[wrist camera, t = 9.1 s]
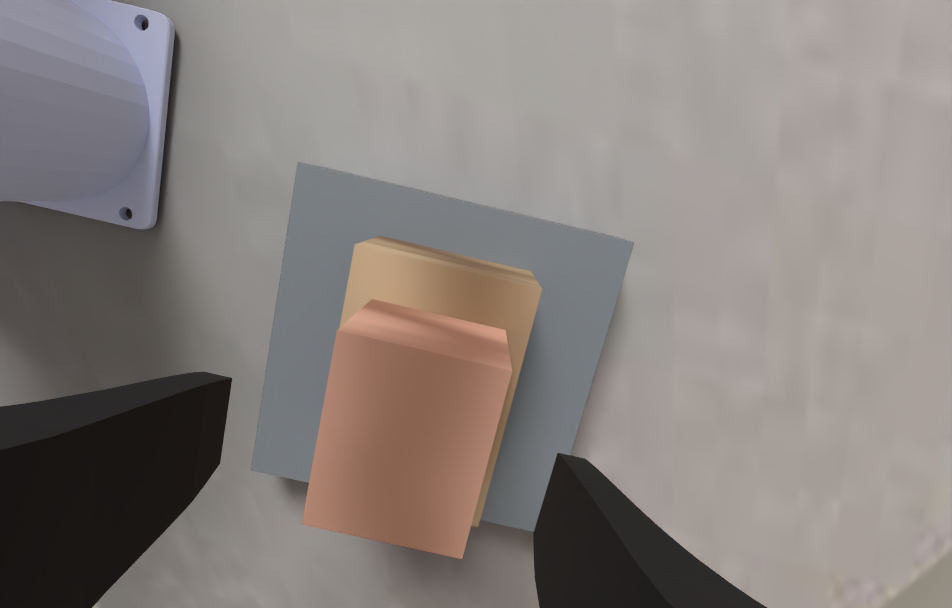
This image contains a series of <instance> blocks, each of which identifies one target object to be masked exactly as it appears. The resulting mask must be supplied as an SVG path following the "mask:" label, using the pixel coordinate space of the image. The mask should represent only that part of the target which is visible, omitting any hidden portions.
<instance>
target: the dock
mask: <svg viewBox="0 0 952 608" xmlns="http://www.w3.org/2000/svg"><path fill="white" fill-rule="evenodd" d="M378 236H384V237H388V238H392V239H396V240H401V241H405V242H409V243H413V244H418V245H422V246H426V247H430V248H434V249H439V250H443V251H447V252H451V253H455V254H460V255H464V256H468V257H472V258H477V259H481V260H485V261H489V262H493V263H498V264H502V265H506V266H510V267H514V268H519V269H523V270H527V271H531V272H532V274H533V275H534V277H535V278H536V280H537V282H538V283H539V285H540V286H541V288H542V292H541V295H540V299H539V303H538V307H537V310H536V314H535V318H534V321H533V325H532V329H531V333H530V336H529V340H528V344H527V348H526V351H525V355H524V359H523V362H522V366H521V370H520V374H519V377H518V381H517V385H516V388H515V392H514V396H513V400H512V403H511V407H510V411H509V415H508V418H507V422H506V426H505V429H504V433H503V437H502V441H501V444H500V448H499V452H498V455H497V459H496V463H495V467H494V470H493V474H492V478H491V482H490V485H489V489H488V493H487V496H486V500H485V504H484V508H483V511H482V515H481V519H480V520H481V521H486V522H490V523H495V524H499V525H504V526H509V527H513V528H518V529H522V530H527V531H531V532H534V529H535V526H536V523H537V519H538V516H539V513H540V510H541V506H542V503H543V500H544V496H545V493H546V490H547V486H548V483H549V480H550V476H551V473H552V470H553V466H554V463H555V460H556V456H557V453H562V454H566V455H570V454H571V451H572V447H573V444H574V441H575V437H576V434H577V431H578V428H579V424H580V421H581V418H582V414H583V411H584V408H585V404H586V401H587V398H588V394H589V391H590V388H591V384H592V381H593V378H594V374H595V371H596V368H597V364H598V361H599V358H600V354H601V351H602V348H603V345H604V341H605V338H606V335H607V331H608V328H609V325H610V321H611V318H612V315H613V311H614V308H615V305H616V301H617V298H618V295H619V291H620V288H621V285H622V281H623V278H624V275H625V271H626V268H627V265H628V261H629V258H630V255H631V252H632V248H633V245H634V242H630V241H627V240H624V239H620V238H617V237H613V236H609V235H605V234H600V233H596V232H592V231H588V230H584V229H579V228H575V227H571V226H567V225H563V224H559V223H554V222H550V221H546V220H542V219H538V218H534V217H529V216H525V215H521V214H517V213H513V212H508V211H504V210H500V209H496V208H492V207H488V206H483V205H479V204H475V203H471V202H467V201H462V200H458V199H454V198H450V197H446V196H442V195H437V194H433V193H429V192H425V191H421V190H417V189H412V188H408V187H404V186H400V185H396V184H391V183H387V182H383V181H379V180H375V179H371V178H366V177H362V176H358V175H354V174H350V173H346V172H341V171H337V170H333V169H329V168H325V167H320V166H315V165H310V164H305V163H300V162H298V164H297V170H296V177H295V183H294V190H293V196H292V203H291V210H290V216H289V223H288V229H287V236H286V242H285V249H284V256H283V262H282V269H281V275H280V282H279V288H278V295H277V302H276V308H275V315H274V321H273V328H272V334H271V341H270V348H269V354H268V361H267V367H266V374H265V380H264V387H263V394H262V400H261V407H260V413H259V420H258V426H257V433H256V440H255V446H254V453H253V459H252V466H251V470H252V471H257V472H261V473H266V474H271V475H275V476H280V477H284V478H289V479H293V480H298V481H303V482H307V483H309V480H310V475H311V469H312V464H313V458H314V453H315V447H316V442H317V436H318V431H319V425H320V420H321V414H322V409H323V404H324V398H325V393H326V387H327V382H328V376H329V371H330V365H331V360H332V354H333V349H334V343H335V338H336V333H337V330H338V329H339V327H340V322H341V316H342V311H343V306H344V300H345V295H346V289H347V284H348V278H349V273H350V267H351V262H352V256H353V251H354V246H355V244H358V243H361V242H363V241H366V240H369V239H372V238H375V237H378Z"/></svg>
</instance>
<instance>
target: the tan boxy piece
mask: <svg viewBox="0 0 952 608" xmlns="http://www.w3.org/2000/svg"><path fill="white" fill-rule="evenodd" d="M541 292H542V288H541V286H540V285H539V283H538V282H537V280H536V278H535V277H534V275H533V274H532V272H531V271H527V270H523V269H519V268H514V267H510V266H506V265H502V264H498V263H493V262H489V261H485V260H481V259H477V258H472V257H468V256H464V255H460V254H455V253H451V252H447V251H443V250H439V249H434V248H430V247H426V246H422V245H418V244H413V243H409V242H405V241H401V240H396V239H392V238H388V237H384V236H378V237H375V238H372V239H369V240H366V241H363V242H361V243H358V244H355V246H354V251H353V256H352V262H351V267H350V273H349V278H348V284H347V289H346V295H345V300H344V306H343V311H342V316H341V322H340V327H341V326H342V325H343V324H344V323H346V322H347V321H348V320H349V319H350V318H351V317H352V316H353V315H355V314H356V313H357V312H358V311H359V310H360V309H361V308H362V307H363V306H365V305H366V304H367V303H368V302H369V301H370V300H371V299H375V300H379V301H383V302H387V303H392V304H396V305H400V306H405V307H409V308H413V309H417V310H422V311H426V312H430V313H435V314H439V315H443V316H447V317H452V318H456V319H460V320H465V321H469V322H473V323H477V324H482V325H486V326H490V327H494V328H499V329H503V330H506V335H507V341H508V347H509V354H510V360H511V366H512V374H511V377H510V381H509V385H508V389H507V392H506V396H505V400H504V404H503V407H502V411H501V415H500V419H499V423H498V426H497V430H496V434H495V438H494V441H493V445H492V449H491V453H490V456H489V460H488V464H487V468H486V471H485V475H484V479H483V483H482V486H481V490H480V494H479V498H478V502H477V505H476V509H475V513H474V517H473V520H472V524H471V526H473V527H478V526H479V522H480V519H481V515H482V511H483V508H484V504H485V500H486V496H487V493H488V489H489V485H490V482H491V478H492V474H493V470H494V467H495V463H496V459H497V455H498V452H499V448H500V444H501V441H502V437H503V433H504V429H505V426H506V422H507V418H508V415H509V411H510V407H511V403H512V400H513V396H514V392H515V388H516V385H517V381H518V377H519V374H520V370H521V366H522V362H523V359H524V355H525V351H526V348H527V344H528V340H529V336H530V333H531V329H532V325H533V321H534V318H535V314H536V310H537V307H538V303H539V299H540V295H541ZM340 327H339V328H340Z"/></svg>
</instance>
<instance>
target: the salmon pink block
mask: <svg viewBox="0 0 952 608" xmlns="http://www.w3.org/2000/svg"><path fill="white" fill-rule="evenodd" d="M511 374H512V366H511V360H510V354H509V347H508V341H507V335H506V330H503V329H499V328H494V327H490V326H486V325H482V324H477V323H473V322H469V321H465V320H460V319H456V318H452V317H447V316H443V315H439V314H435V313H430V312H426V311H422V310H417V309H413V308H409V307H405V306H400V305H396V304H392V303H387V302H383V301H379V300H375V299H371V300H370V301H369V302H368V303H367V304H366V305H365V306H363V307H362V308H361V309H360V310H359V311H358V312H357V313H356V314H355V315H353V316H352V317H351V318H350V319H349V320H348V321H347V322H346V323H344V324H343V325H342V326H341V327H340V328H339V329H338V330H337V333H336V338H335V343H334V349H333V354H332V360H331V365H330V371H329V376H328V382H327V387H326V393H325V398H324V404H323V409H322V414H321V420H320V425H319V431H318V436H317V442H316V447H315V453H314V458H313V464H312V469H311V475H310V480H309V485H308V491H307V496H306V502H305V507H304V513H303V518H302V524H303V525H307V526H312V527H316V528H321V529H326V530H330V531H335V532H339V533H344V534H349V535H353V536H358V537H362V538H367V539H372V540H376V541H381V542H385V543H390V544H395V545H399V546H404V547H408V548H413V549H418V550H422V551H427V552H431V553H436V554H441V555H445V556H450V557H454V558H459V559H462V558H463V554H464V550H465V547H466V543H467V539H468V535H469V532H470V528H471V524H472V520H473V517H474V513H475V509H476V505H477V502H478V498H479V494H480V490H481V486H482V483H483V479H484V475H485V471H486V468H487V464H488V460H489V456H490V453H491V449H492V445H493V441H494V438H495V434H496V430H497V426H498V423H499V419H500V415H501V411H502V407H503V404H504V400H505V396H506V392H507V389H508V385H509V381H510V377H511Z"/></svg>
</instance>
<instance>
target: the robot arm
mask: <svg viewBox="0 0 952 608" xmlns="http://www.w3.org/2000/svg"><path fill="white" fill-rule="evenodd" d="M145 19H148V22H149V26H148V28H147V29H146V30H143V29H142V22H143V20H145ZM174 36H175V29H174V25H173V23H172V21H171V20H170V19H169V18H168V17H167V16H165V15H163V14H161V13H159V12H157V11H153V10H149V9H145V8H141V7H137V6H132V5H128V4H124V3H120V2H116V1H112V0H0V201H19V202H23V203H27V204H32V205H36V206H40V207H44V208H49V209H53V210H57V211H62V212H66V213H70V214H75V215H79V216H83V217H87V218H92V219H96V220H100V221H105V222H109V223H113V224H118V225H122V226H126V227H130V228H135V229H149V228H152V227H153V226H154V225H155V224H156V220H157V212H158V202H159V192H160V181H161V171H162V161H163V150H164V140H165V129H166V119H167V109H168V98H169V88H170V77H171V67H172V57H173V46H174ZM128 208H129V209H130V210H131V211H132V218H131V219H129V218H128V217H127V215H126V211H127V209H128ZM231 382H232V378H229V377H224V376H220V375H216V374H211V373H207V372H194V373H187V374H180V375H175V376H169V377H164V378H159V379H154V380H149V381H145V382H140V383H135V384H130V385H125V386H120V387H116V388H111V389H106V390H101V391H95V392H89V393H84V394H78V395H73V396H67V397H62V398H56V399H51V400H45V401H39V402H32V403H25V404H18V405H11V406H3V407H0V608H92V607H93V606H94V605H95V604H96V602H97V601H98V600H99V599H100V598H101V597H102V596H103V595H104V593H105V592H106V591H107V590H108V589H109V588H110V587H111V586H112V585H113V584H114V583H115V582H116V581H117V580H118V579H119V578H120V577H121V576H122V575H123V574H124V573H125V572H126V571H127V570H128V569H129V568H130V566H131V565H132V564H133V563H134V562H135V561H136V560H137V559H138V558H139V557H140V556H141V555H142V554H143V553H144V552H145V551H146V550H147V549H148V548H149V547H150V546H151V545H152V544H153V543H154V542H155V541H156V539H157V538H158V537H159V536H160V535H161V534H162V533H163V532H164V531H165V530H166V529H167V528H168V527H169V526H170V525H171V524H172V523H173V522H174V521H175V520H176V518H177V517H178V516H179V515H180V514H181V513H182V512H183V511H184V510H185V509H186V508H187V507H188V506H189V504H190V503H191V502H192V501H193V500H194V498H195V497H196V496H197V494H198V493H199V492H200V490H201V489H202V488H203V486H204V485H205V484H206V482H207V481H208V480H209V478H210V477H211V475H212V474H213V472H214V471H215V470H216V468H217V467H218V465H219V464H220V459H221V452H222V445H223V438H224V431H225V424H226V417H227V410H228V403H229V396H230V389H231ZM533 535H534V568H535V581H536V588H537V594H538V600H539V606H540V608H767V607H765V606H764V605H762V604H760V603H759V602H757V601H756V600H754V599H753V598H751V597H750V596H748V595H747V594H745V593H744V592H742V591H741V590H739V589H738V588H736V587H735V586H733V585H732V584H731V583H729V582H728V581H727V580H725V579H724V578H722V577H721V576H720V575H718V574H717V573H716V572H714V571H713V570H712V569H710V568H709V567H708V566H706V565H705V564H704V563H702V562H701V561H699V560H698V559H697V558H696V557H694V556H693V555H692V554H691V553H689V552H688V551H687V550H686V549H684V548H683V547H682V546H681V545H680V544H678V543H677V542H676V541H675V540H674V539H673V538H671V537H670V536H669V535H668V534H667V533H666V532H664V531H663V530H662V529H661V528H660V527H659V526H657V525H656V524H655V523H654V522H653V521H652V520H651V519H650V518H649V517H648V516H646V515H645V514H644V513H643V512H642V511H641V510H640V509H639V508H638V507H637V506H636V505H635V504H634V503H633V502H631V501H630V500H629V499H628V498H627V497H626V496H625V495H624V494H623V493H622V492H621V491H620V490H619V489H618V488H617V487H616V486H615V485H614V484H613V483H612V482H611V481H610V480H609V479H608V478H607V477H605V476H604V475H603V474H602V473H601V472H600V471H599V470H598V469H597V468H596V467H595V466H593V465H592V464H591V463H590V462H588V461H587V460H586V459H584V458H579V457H575V456H571V455H566V454H562V453H557V456H556V460H555V463H554V466H553V470H552V473H551V476H550V480H549V483H548V486H547V490H546V493H545V496H544V500H543V503H542V506H541V510H540V513H539V516H538V519H537V523H536V526H535V529H534V533H533Z"/></svg>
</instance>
